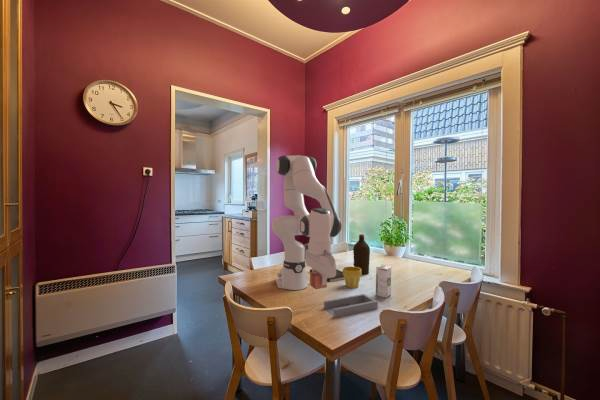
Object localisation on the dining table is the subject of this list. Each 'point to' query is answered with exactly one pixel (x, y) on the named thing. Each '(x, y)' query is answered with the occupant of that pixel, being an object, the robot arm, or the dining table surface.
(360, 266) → the olive oil
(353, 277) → the plant pot
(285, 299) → the dining table surface
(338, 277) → the hardcover book
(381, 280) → the syrup box
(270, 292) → the dining table surface
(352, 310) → the channel
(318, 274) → the red block
